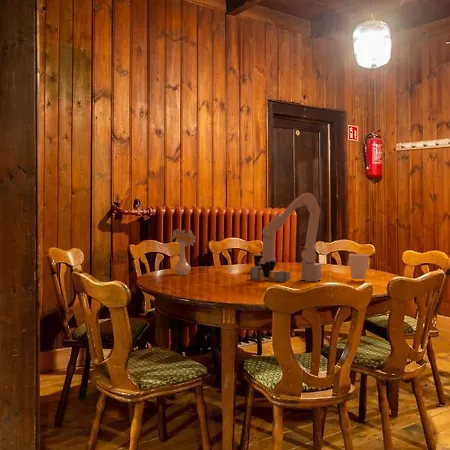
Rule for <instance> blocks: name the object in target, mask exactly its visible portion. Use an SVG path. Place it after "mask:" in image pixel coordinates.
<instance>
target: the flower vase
mask: <svg viewBox="0 0 450 450" xmlns="http://www.w3.org/2000/svg"><path fill="white" fill-rule="evenodd" d="M186 232H187V233H186ZM169 239H170V241H169V242H172V241H173V240H175V242H176V243H178V246H179V249H178V250H179V251H178V253H179V256H178V260H177V262H176V263H175V264H174V266H173V271H174V272H175V273H176V275H177V276H187V275H188V274H189V272H190V271H191V269H192V268H191V265H190V264H189V263H188V261H187V259H186V247H187V246H189V245H190V246H192V247H194V245H195V244H194V243H196V241H195V240H196V239H197V237H196V236H195V235H194V233H193V232H192V229H188V230H187V231H186V229H183V230H182V229H180V228H176V229H174V230H173V231H172V235H171V236H170V238H169Z"/></svg>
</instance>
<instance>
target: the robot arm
mask: <svg viewBox="0 0 450 450" xmlns="http://www.w3.org/2000/svg"><path fill="white" fill-rule="evenodd" d="M301 207H305V208H306V209H307V210H308V212H309V218H308V225H307V231H306V238H305V244H304V247H303V250H302V251H301V254H300V256H301V259H302V260H301V264H300V265H301V267H300V268H301V269H300V270H301V276H300V278H299V279H298V281H300V280H305V281H304V282H313V281H317V282H319V281H318V280H320V279H321V280H322V266H321V264H320V263H317V261H316V259H317V254H316V248H317V247H316V242H317V235H318V229H319V222H320V221H319V220H320V215H321V208H320V205H319V203H318V201H317V198H316V197H315V195H313V194H312V193H311V192H304V193H302V194H300V195H299V196H298V197H296V198H295V199H294V200H293V201H292V202H291V203H290V204H289V205H288V206H287V207H286V209H285V210H284V211H283V212H282V213H281V214H277V215H274V216H273V217H272V218H273V219H271V220H270V222H269V223H267V224H266V226H264V227H263V229H262V233H261V234H262V235H263V236H262V254H263V258H261V263H260V265H261V267H262V270H263V274H264V277H267V278H268V277H269V271H270V270H272V271H275V270H274V269H275V267H276V265H277V262H276V261H277V260H276V258H277V257H275V239H274V237H275V235H276V232H278V231H279V230H280V229H281V228H282V227H283V226H284V225H285V224H286V219H288V217H289V216H291V214H293V212H294V211H295V210H297V209H298V208H301ZM274 261H275V262H274ZM321 280H320V281H321Z"/></svg>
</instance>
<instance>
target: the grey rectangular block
mask: <svg viewBox="0 0 450 450" xmlns="http://www.w3.org/2000/svg"><path fill="white" fill-rule="evenodd" d="M259 270H262V267H261V266H255V265H254V266H251V267H250V272H249V273H250V274H249V275H250V279H249V280H250V281H260V280H259Z"/></svg>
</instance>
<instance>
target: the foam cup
mask: <svg viewBox="0 0 450 450" xmlns="http://www.w3.org/2000/svg"><path fill="white" fill-rule="evenodd" d="M348 260H349V267H350V268H349V269H350V270H349V271H350V277H351V278H352V279H365V280H366V273H367V267H368V261H369V254H363V253H349V254H348ZM352 279H351V280H352Z"/></svg>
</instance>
